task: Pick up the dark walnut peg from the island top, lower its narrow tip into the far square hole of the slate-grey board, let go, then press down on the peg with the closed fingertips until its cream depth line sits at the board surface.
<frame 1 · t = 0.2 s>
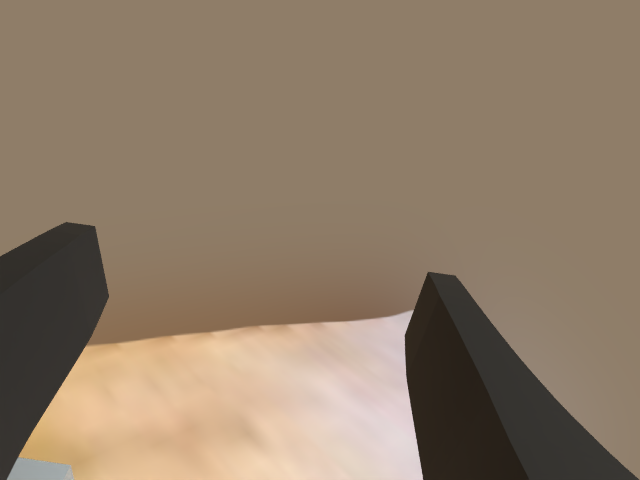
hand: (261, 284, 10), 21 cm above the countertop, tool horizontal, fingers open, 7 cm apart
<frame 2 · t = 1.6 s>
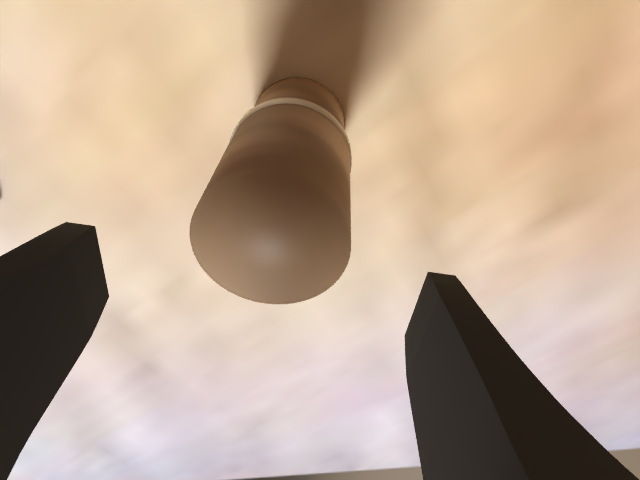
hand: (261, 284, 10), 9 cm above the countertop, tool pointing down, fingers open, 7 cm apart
walnut peg: (298, 124, 18), on the countertop
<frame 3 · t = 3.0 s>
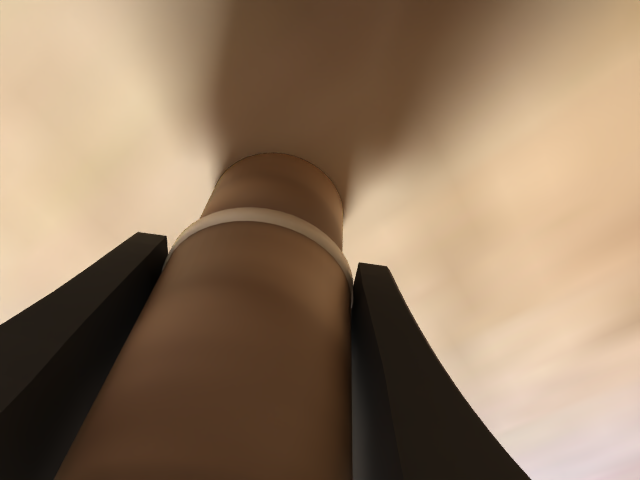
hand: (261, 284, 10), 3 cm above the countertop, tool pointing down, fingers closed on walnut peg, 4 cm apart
walnut peg: (277, 213, 12), on the countertop, touching gripper
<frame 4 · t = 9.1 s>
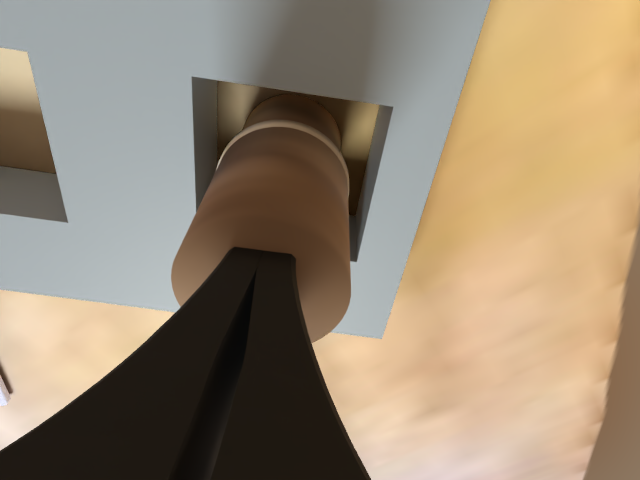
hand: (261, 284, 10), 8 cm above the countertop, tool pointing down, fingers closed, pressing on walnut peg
slate board: (156, 121, 16), on the countertop
walnut peg: (291, 143, 16), resting in slate board, touching gripper
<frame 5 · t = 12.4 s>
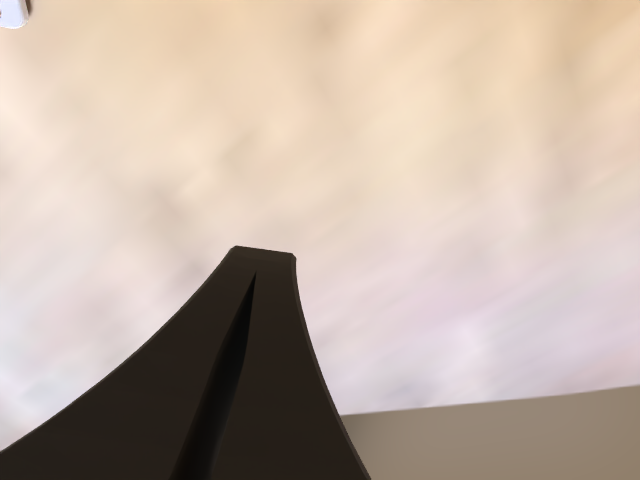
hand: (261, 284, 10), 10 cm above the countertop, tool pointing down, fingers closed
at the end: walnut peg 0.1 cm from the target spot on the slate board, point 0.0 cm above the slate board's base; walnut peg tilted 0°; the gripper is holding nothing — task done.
